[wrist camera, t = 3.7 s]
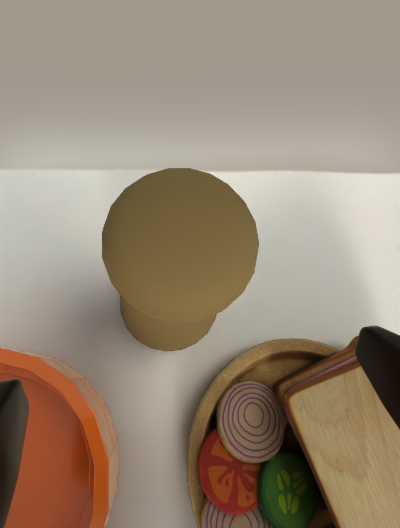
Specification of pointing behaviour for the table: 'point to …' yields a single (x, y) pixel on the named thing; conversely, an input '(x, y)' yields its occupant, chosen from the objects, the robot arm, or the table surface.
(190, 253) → the cork
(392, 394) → the robot arm
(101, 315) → the table surface
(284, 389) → the toy sandwich meal
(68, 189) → the table surface
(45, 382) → the pan
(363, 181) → the table surface
